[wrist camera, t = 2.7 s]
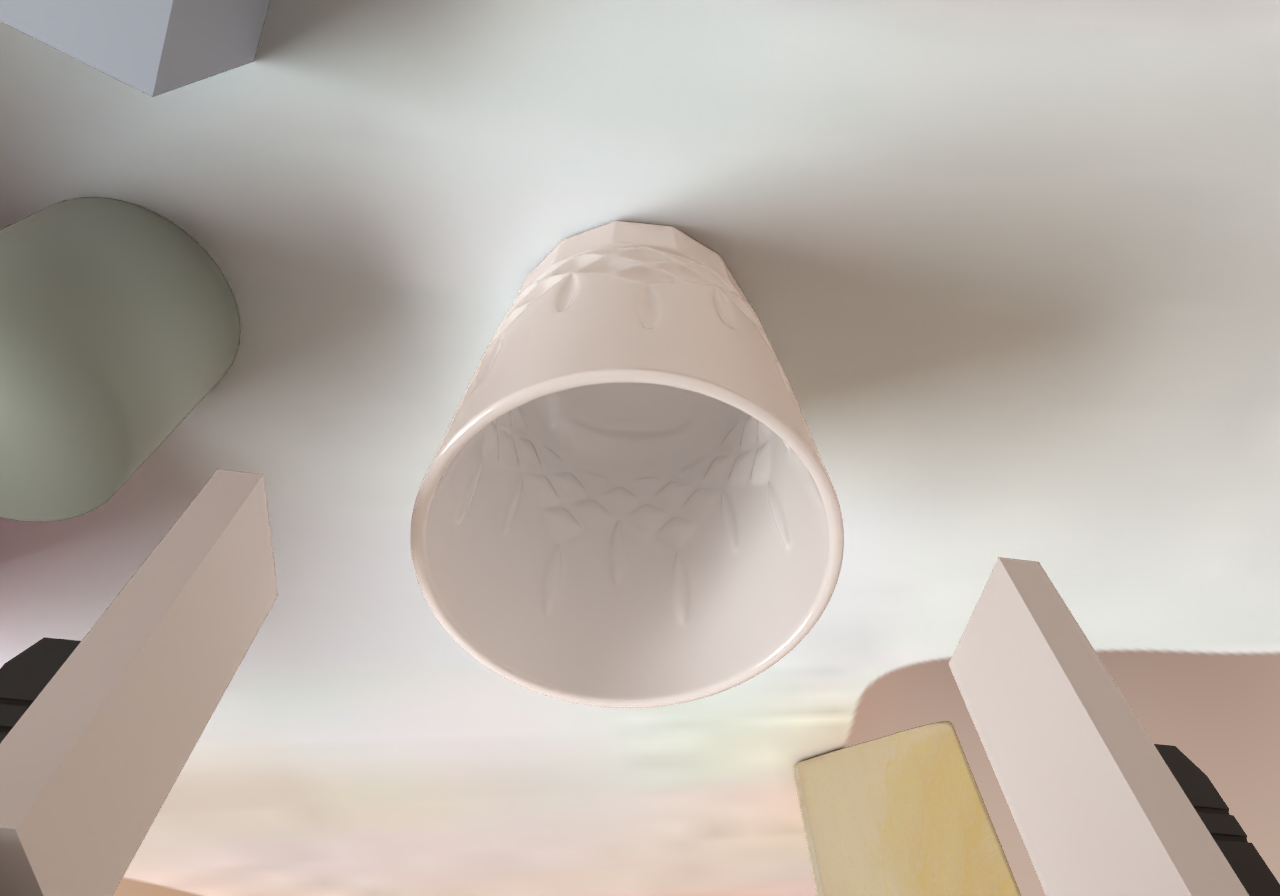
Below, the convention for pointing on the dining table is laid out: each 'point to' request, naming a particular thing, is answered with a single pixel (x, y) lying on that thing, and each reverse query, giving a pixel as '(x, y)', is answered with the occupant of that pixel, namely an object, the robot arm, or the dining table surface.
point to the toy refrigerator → (900, 820)
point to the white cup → (628, 484)
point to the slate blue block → (146, 36)
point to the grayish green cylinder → (100, 349)
